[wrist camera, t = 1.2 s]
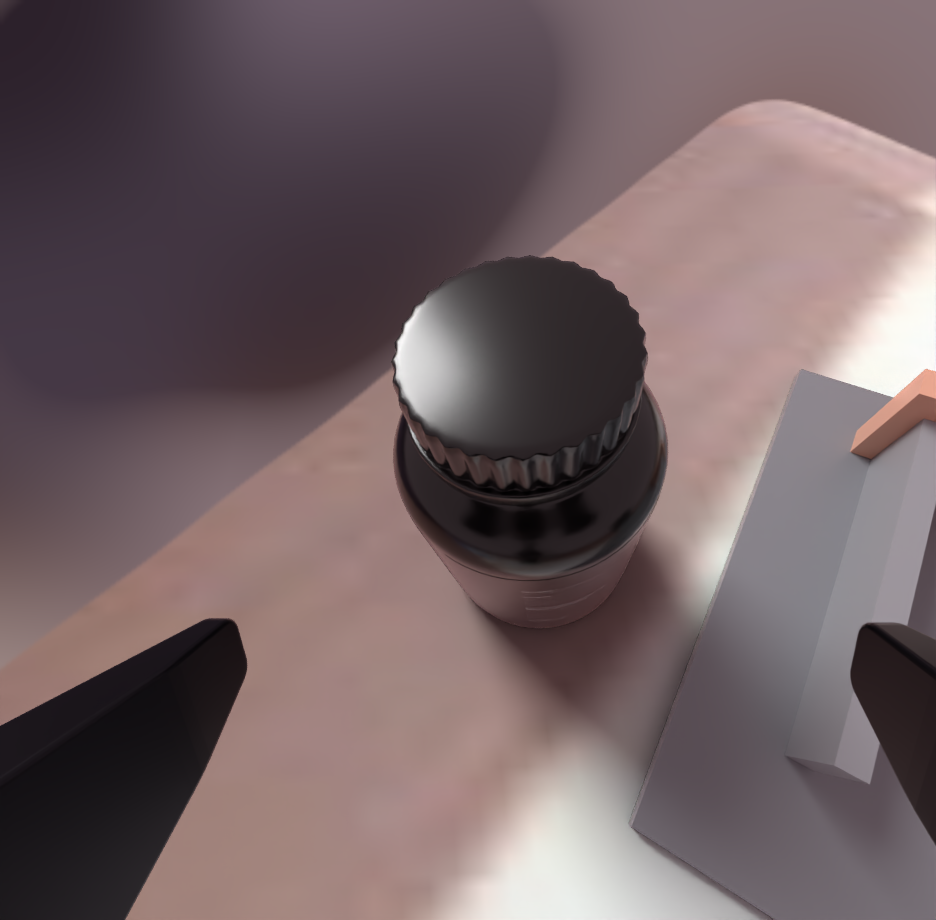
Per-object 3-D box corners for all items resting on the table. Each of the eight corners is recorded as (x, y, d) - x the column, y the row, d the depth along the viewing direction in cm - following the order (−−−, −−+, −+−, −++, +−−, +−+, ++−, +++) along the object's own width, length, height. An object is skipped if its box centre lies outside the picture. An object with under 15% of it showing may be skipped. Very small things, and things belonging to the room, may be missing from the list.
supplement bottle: (633, 473, 21) (725, 222, 10) (616, 649, 18) (716, 564, 7) (469, 450, 22) (395, 211, 11) (429, 609, 19) (285, 489, 9)
